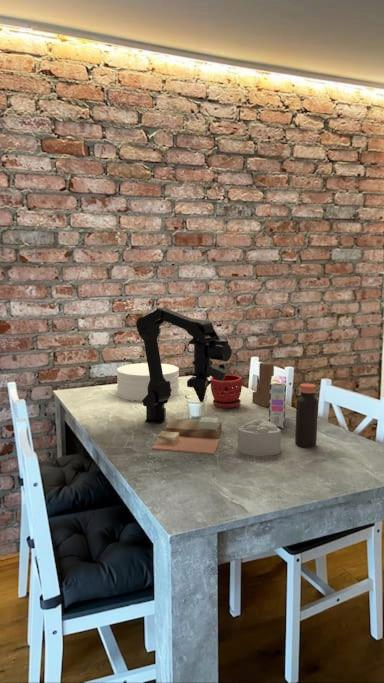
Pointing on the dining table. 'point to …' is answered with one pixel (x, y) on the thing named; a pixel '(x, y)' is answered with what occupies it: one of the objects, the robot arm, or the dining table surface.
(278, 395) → the candy box
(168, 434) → the maple tile
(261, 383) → the wooden block
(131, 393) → the plate stack
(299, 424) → the bottle
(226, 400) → the plant pot
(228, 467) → the dining table surface
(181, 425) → the walnut board
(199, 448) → the terracotta mat
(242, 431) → the lumpy-topped squat cylinder
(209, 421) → the sage tile
